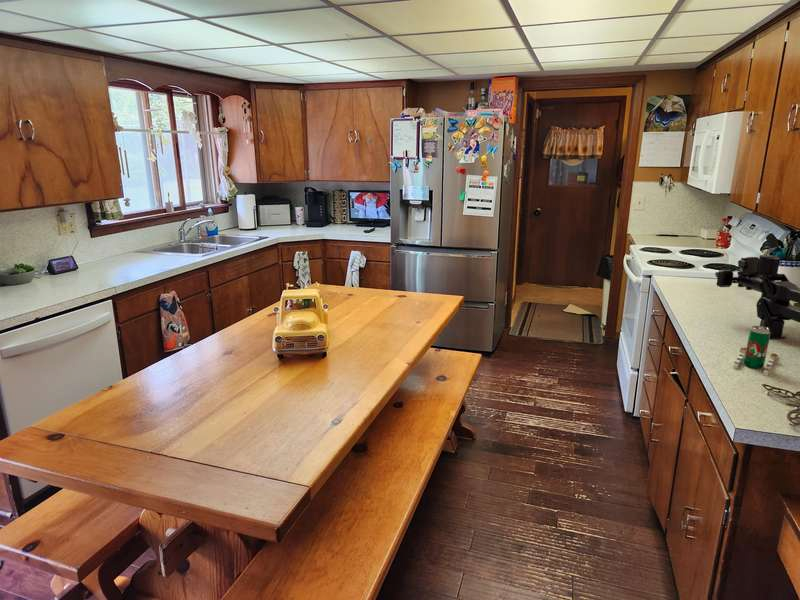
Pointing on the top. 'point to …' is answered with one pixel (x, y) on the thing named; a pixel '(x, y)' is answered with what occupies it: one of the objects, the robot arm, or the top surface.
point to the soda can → (757, 347)
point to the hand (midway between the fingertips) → (726, 273)
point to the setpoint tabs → (773, 356)
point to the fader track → (744, 356)
